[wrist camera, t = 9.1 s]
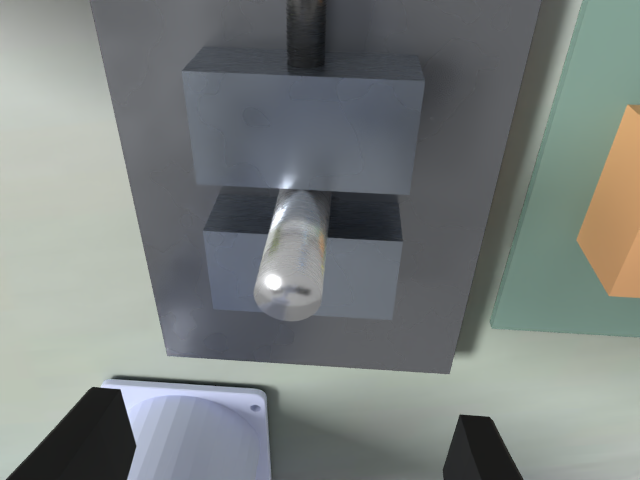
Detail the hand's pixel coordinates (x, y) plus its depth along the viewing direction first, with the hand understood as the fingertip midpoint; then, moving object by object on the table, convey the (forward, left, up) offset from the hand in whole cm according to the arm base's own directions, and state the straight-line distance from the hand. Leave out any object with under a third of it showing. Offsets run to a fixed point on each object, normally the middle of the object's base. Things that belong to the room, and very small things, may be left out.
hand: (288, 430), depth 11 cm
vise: (+2, 0, -9) cm, 9 cm away
